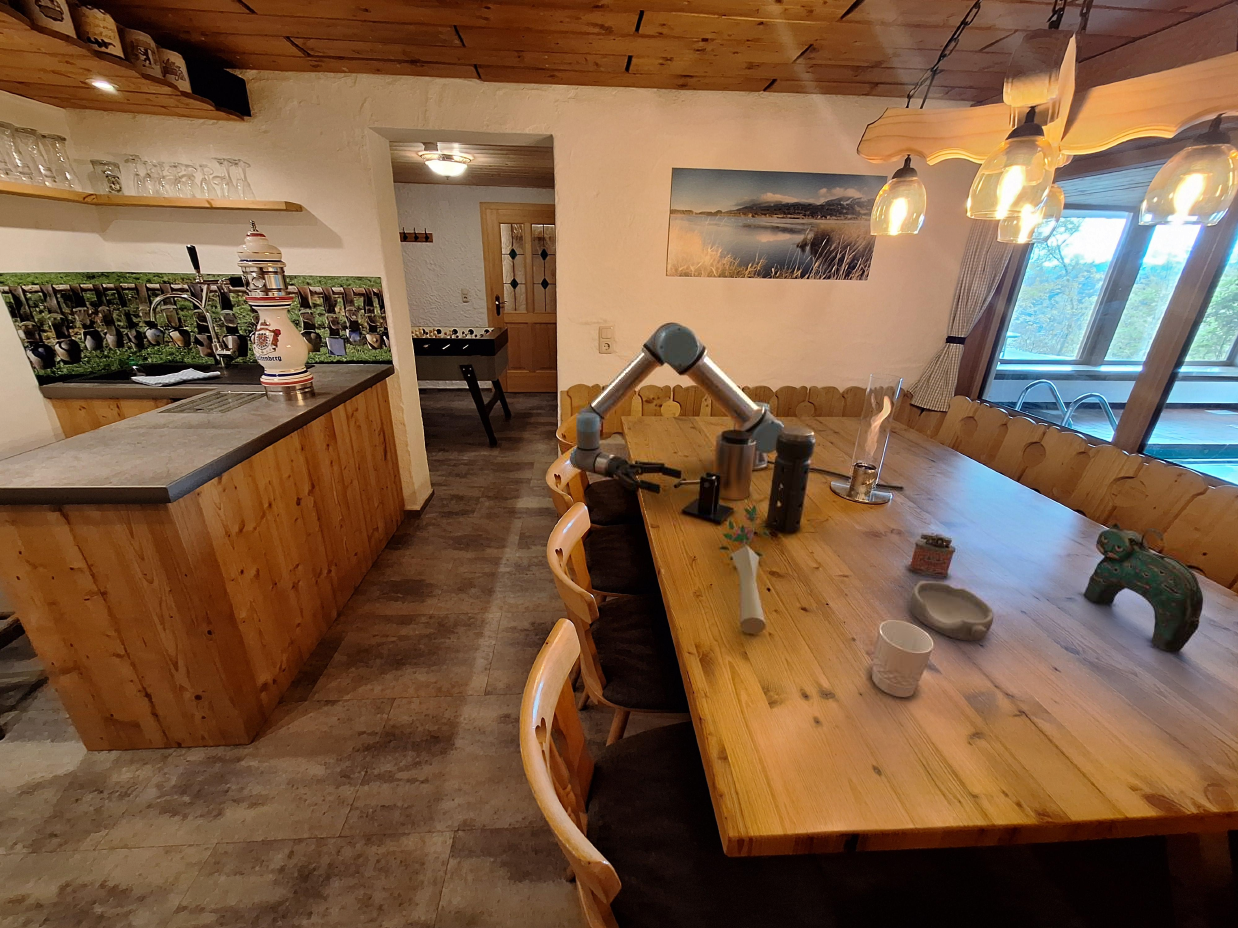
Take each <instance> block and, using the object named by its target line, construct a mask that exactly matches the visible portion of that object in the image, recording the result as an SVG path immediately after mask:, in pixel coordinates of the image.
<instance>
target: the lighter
mask: <svg viewBox="0 0 1238 928" xmlns="http://www.w3.org/2000/svg"><path fill="white" fill-rule="evenodd" d="M952 541H953V539H952V537H947V536H943V535H942V534H941V533H937V534H931V533H925V532H922V533H921V535H920V539H916V540H915V543H914V545H915V546H914V550H913V554H912V557H911V561H910V564H909V565H908V570H909V572H911V573H914V574H918V575H922V576H927V577H932V578H940V579H946V578H948V576H949V569H950V566H951V562H952V561H953V560H952V559H953V556H954V553H955V552H956V546H953V545H952Z"/></svg>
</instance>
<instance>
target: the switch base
mask: <svg viewBox="0 0 1238 928" xmlns="http://www.w3.org/2000/svg"><path fill="white" fill-rule="evenodd" d="M711 476H716V479H713V478H709V477H711ZM721 477H722V475H720V474H716V473H713V471H706V473H705V475H701V476H700V477H699V480H700V484H699V491H698V497H696V498H695V499H693V500H692V501H691V502H690V503H688V504H687V505H686V506H685V507H683V508H682V509H681V514H682V515H685V516H688V517H691V518H694V519H699V520H701V521H705V522H708V523H712V524H715V525H718V526H721V525H722V524H723V523H724V522H725V521H726V520H727V519H728V518H729V517H730V516H731V515H732V514H733V513H734V512H735V511H734V509H735V508H734V507H732V506H728V505H724V504H721V503H720V487H721ZM716 480H717V485H716Z"/></svg>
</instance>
